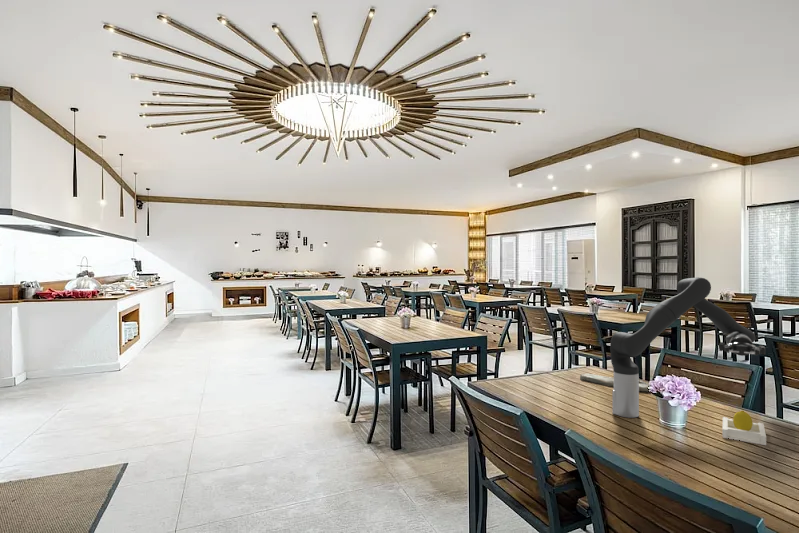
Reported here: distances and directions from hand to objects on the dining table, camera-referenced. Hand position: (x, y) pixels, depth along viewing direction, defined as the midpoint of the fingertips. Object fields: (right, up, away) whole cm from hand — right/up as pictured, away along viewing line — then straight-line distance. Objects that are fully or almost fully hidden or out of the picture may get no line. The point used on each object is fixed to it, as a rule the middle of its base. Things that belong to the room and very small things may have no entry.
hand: (742, 351), depth 169 cm
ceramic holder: (-6, -28, -9) cm, 30 cm away
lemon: (-6, -28, -8) cm, 30 cm away
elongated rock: (-21, -28, +57) cm, 67 cm away
